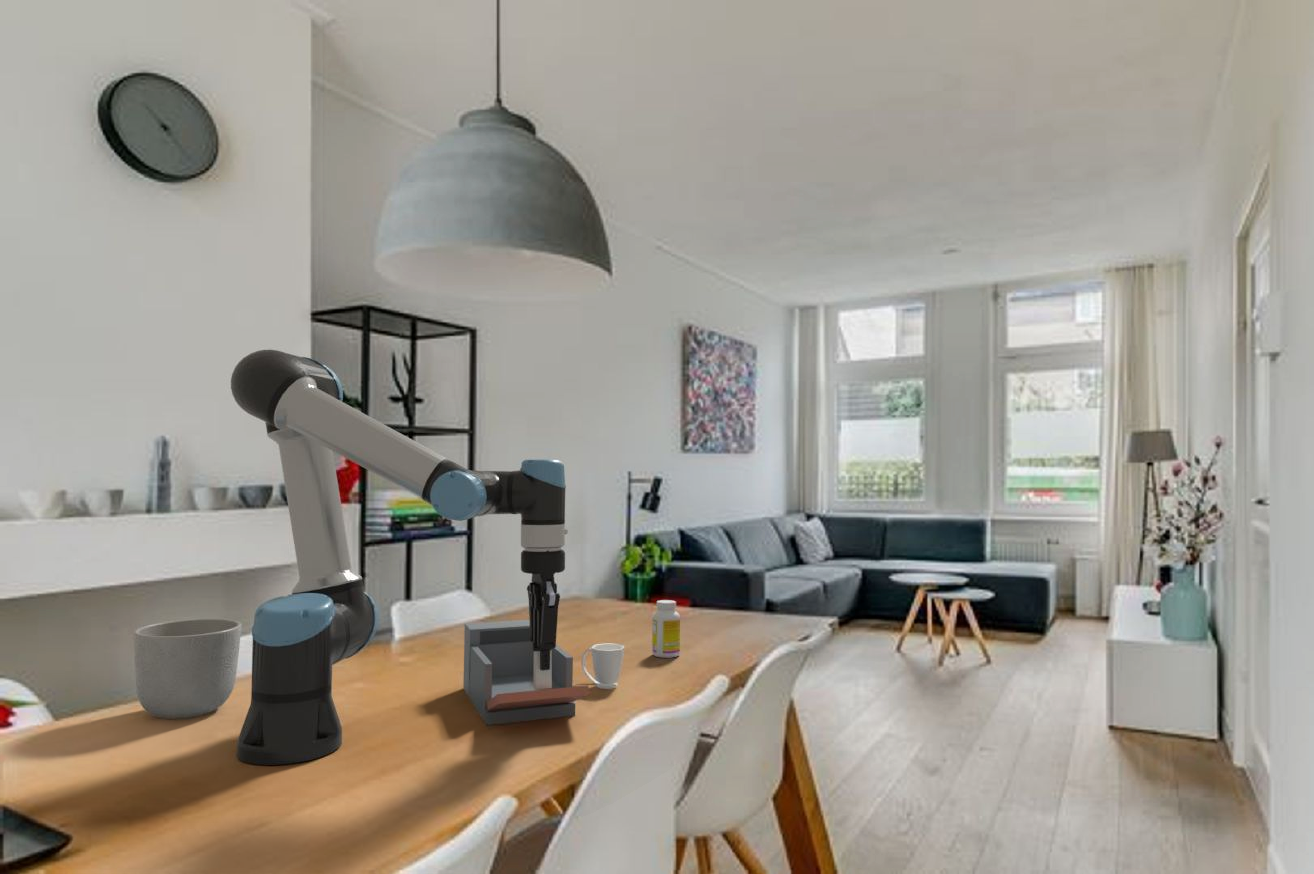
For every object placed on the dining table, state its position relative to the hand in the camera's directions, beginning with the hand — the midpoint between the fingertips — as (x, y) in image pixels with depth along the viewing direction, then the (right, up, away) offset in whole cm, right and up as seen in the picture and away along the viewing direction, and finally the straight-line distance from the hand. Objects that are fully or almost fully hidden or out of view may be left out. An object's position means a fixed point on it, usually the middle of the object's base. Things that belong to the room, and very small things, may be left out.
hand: (542, 687), depth 139 cm
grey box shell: (-11, -8, +25) cm, 29 cm away
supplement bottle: (+22, -10, +56) cm, 61 cm away
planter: (-65, -7, +7) cm, 66 cm away
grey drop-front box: (-6, -8, +14) cm, 17 cm away
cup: (+8, -9, +29) cm, 31 cm away
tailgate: (-3, -4, +6) cm, 8 cm away
